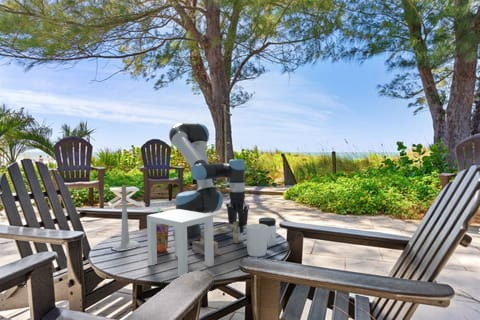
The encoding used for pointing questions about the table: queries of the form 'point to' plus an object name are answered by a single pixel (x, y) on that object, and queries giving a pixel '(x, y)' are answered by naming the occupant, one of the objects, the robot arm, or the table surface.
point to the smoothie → (161, 236)
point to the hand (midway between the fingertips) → (237, 238)
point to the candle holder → (256, 239)
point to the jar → (270, 229)
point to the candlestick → (124, 226)
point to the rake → (200, 246)
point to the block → (215, 247)
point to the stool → (180, 235)
